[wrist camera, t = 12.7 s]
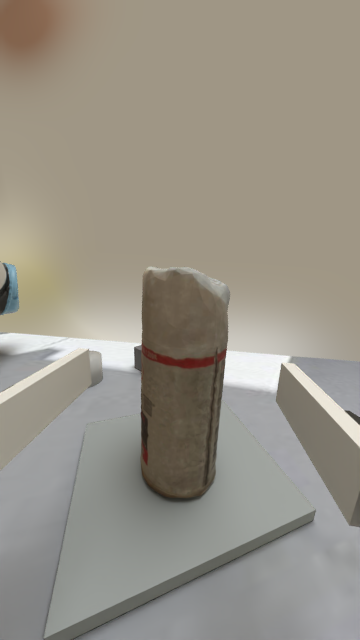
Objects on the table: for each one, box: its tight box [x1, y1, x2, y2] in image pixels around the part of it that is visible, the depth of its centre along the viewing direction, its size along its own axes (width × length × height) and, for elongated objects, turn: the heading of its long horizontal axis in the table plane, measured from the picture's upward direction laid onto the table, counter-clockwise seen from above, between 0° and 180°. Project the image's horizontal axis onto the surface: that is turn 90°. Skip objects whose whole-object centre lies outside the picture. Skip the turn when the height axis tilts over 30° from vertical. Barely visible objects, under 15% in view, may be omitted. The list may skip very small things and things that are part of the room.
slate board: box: [44, 399, 316, 640], centre depth 21 cm, size 20×16×1 cm
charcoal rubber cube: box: [134, 345, 142, 371], centre depth 43 cm, size 5×5×5 cm
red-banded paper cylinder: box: [140, 267, 230, 498], centre depth 18 cm, size 8×8×20 cm
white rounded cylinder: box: [88, 351, 103, 388], centre depth 37 cm, size 6×6×5 cm
